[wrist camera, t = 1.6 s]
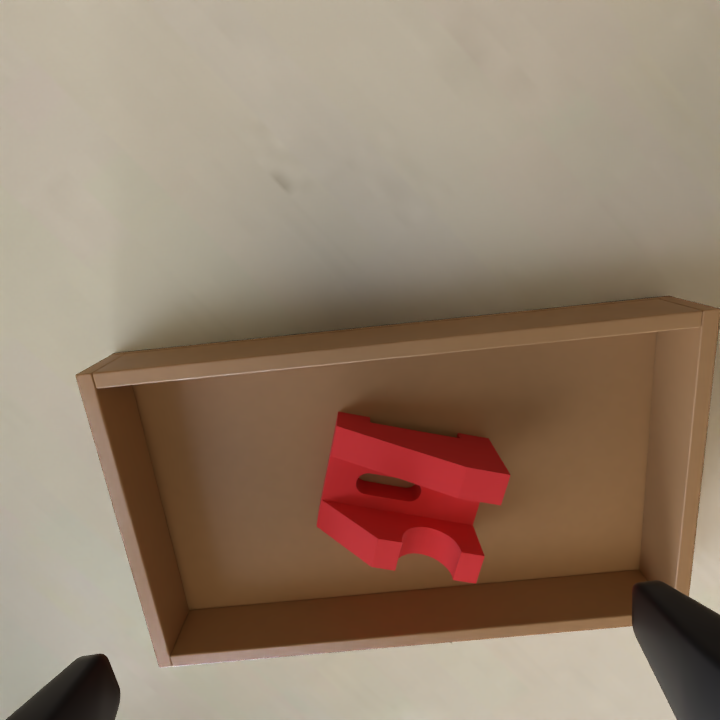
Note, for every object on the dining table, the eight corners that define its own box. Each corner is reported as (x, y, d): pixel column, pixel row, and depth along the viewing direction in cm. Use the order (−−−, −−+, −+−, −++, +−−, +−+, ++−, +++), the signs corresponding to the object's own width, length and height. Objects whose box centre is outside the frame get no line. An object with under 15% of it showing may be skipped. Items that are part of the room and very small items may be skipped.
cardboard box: (669, 295, 19) (721, 308, 16) (647, 574, 23) (686, 621, 20) (113, 353, 19) (74, 374, 17) (181, 615, 23) (158, 668, 20)
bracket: (488, 438, 20) (510, 474, 17) (459, 534, 22) (475, 583, 19) (338, 411, 20) (335, 444, 17) (318, 511, 21) (312, 557, 18)
